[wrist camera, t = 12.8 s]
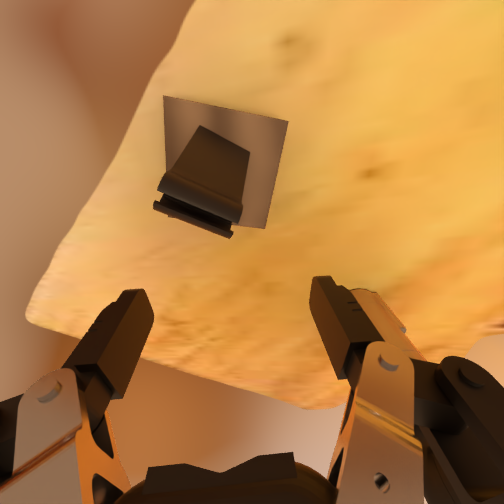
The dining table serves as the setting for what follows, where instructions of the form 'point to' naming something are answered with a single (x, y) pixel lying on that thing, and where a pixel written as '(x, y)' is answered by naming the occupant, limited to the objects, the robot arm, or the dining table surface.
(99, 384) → the robot arm
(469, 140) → the dining table surface
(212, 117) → the walnut block
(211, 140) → the phone stand
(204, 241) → the dining table surface
